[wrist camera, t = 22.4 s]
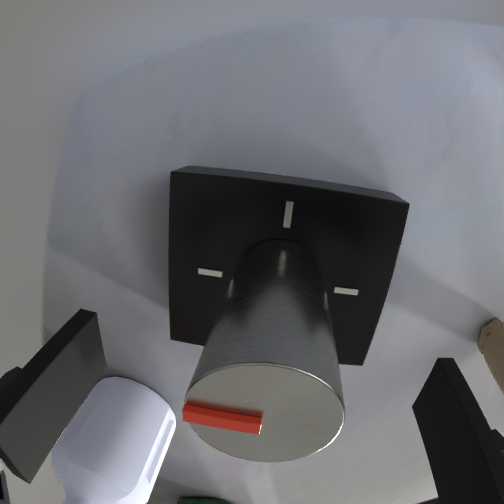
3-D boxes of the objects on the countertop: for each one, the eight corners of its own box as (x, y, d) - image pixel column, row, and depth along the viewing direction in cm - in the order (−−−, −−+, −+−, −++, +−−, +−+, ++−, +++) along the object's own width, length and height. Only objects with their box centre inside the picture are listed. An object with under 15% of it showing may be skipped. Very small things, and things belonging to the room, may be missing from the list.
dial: (330, 246, 17) (368, 380, 8) (314, 324, 19) (322, 473, 9) (238, 233, 17) (177, 355, 8) (231, 312, 19) (184, 455, 10)
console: (394, 193, 19) (411, 204, 16) (356, 340, 23) (363, 367, 20) (187, 165, 19) (169, 171, 17) (183, 316, 23) (169, 341, 21)
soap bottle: (189, 405, 27) (104, 645, 4) (162, 444, 30) (93, 625, 8) (104, 359, 26) (-32, 571, 4) (91, 406, 30) (-5, 573, 7)
